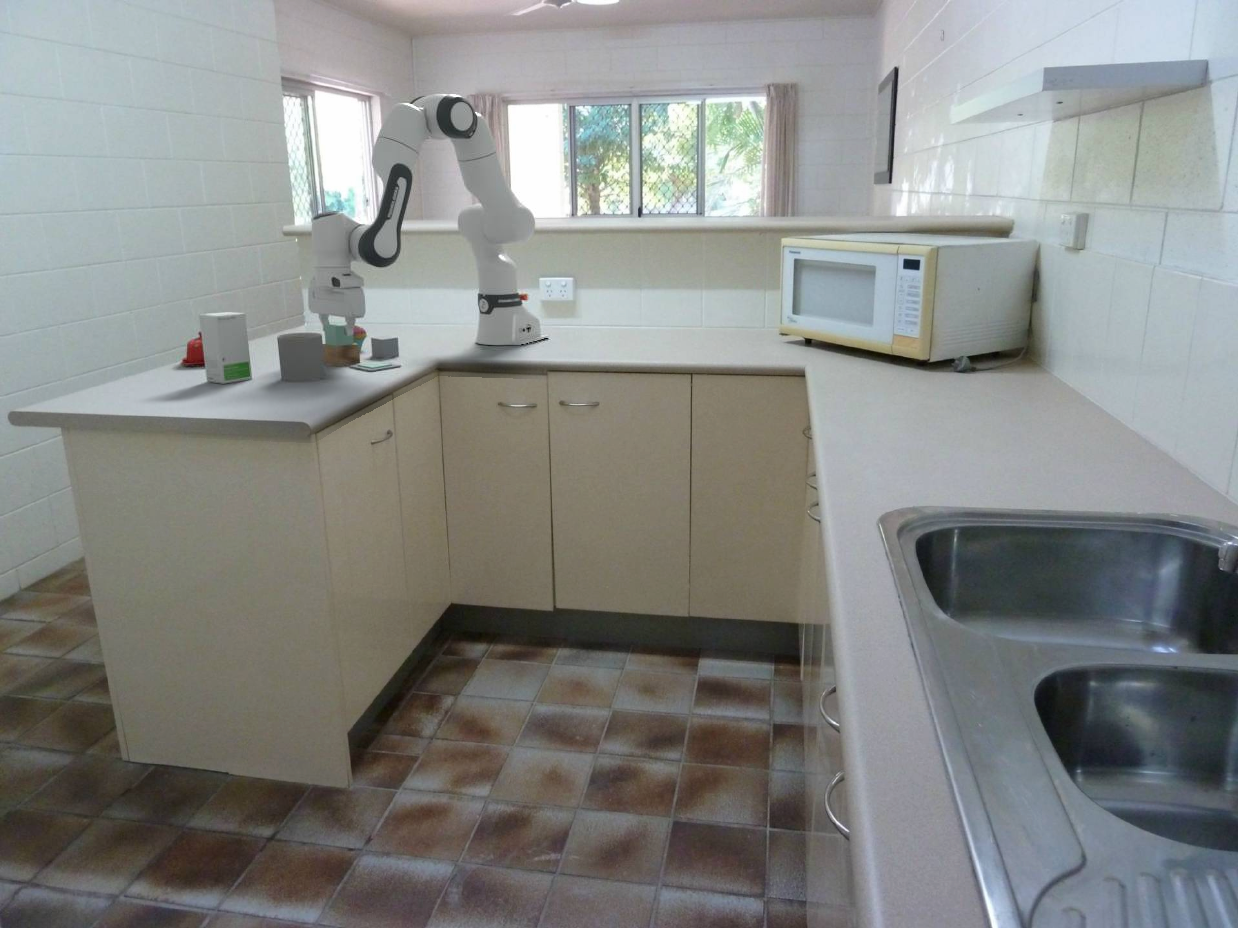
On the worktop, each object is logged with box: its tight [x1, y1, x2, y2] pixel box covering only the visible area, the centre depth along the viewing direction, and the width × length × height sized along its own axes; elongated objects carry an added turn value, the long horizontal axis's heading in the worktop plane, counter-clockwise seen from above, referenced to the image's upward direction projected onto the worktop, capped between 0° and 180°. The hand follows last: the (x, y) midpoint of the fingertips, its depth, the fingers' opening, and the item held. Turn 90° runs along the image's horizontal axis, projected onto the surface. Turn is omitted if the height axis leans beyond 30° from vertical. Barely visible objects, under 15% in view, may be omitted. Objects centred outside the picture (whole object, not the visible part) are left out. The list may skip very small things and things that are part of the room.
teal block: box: [323, 322, 354, 346], centre depth 239 cm, size 5×5×5 cm
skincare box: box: [198, 311, 253, 385], centre depth 216 cm, size 8×7×16 cm
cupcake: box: [353, 325, 367, 352], centre depth 257 cm, size 9×8×12 cm
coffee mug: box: [277, 332, 326, 383], centre depth 222 cm, size 13×10×10 cm
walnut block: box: [323, 343, 361, 367], centre depth 240 cm, size 7×7×5 cm
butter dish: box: [181, 330, 205, 367], centre depth 239 cm, size 12×12×8 cm
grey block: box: [370, 335, 400, 359], centre depth 250 cm, size 5×5×5 cm
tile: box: [348, 360, 402, 373], centre depth 234 cm, size 9×9×1 cm
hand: (338, 333), depth 238 cm, fingers open, 8 cm apart
